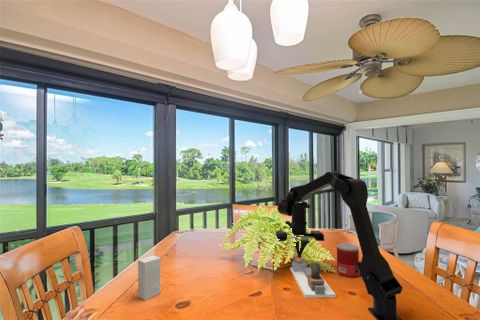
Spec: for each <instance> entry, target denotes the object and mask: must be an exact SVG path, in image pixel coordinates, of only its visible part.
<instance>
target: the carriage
mask: <svg viewBox="0 0 480 320" xmlns="http://www.w3.org/2000/svg"><path fill="white" fill-rule="evenodd" d="M310 265H311V266H310V267H311V275H307V279H308V285H309V286H310V288H311V289H312V290H314V285H321V286H324V280H325V279H324V278H323V276H322V275H321V274H320V272H321V271H320V269H321V268H320V263H317V262H311V264H310ZM320 275H321V276H322V277H321V276H320ZM322 278H323V279H324V280H323V279H322Z"/></svg>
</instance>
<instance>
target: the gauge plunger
mask: <svg viewBox="0 0 480 320" xmlns="http://www.w3.org/2000/svg"><path fill="white" fill-rule="evenodd" d="M295 261H296V262H297V263H302V261H303V257H302V256H301V257H300V258H298V256H295Z"/></svg>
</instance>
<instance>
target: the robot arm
mask: <svg viewBox="0 0 480 320" xmlns="http://www.w3.org/2000/svg"><path fill="white" fill-rule="evenodd" d="M330 186H331V188H333V189H334V190H336V191H337V192H339V194H340V196H341V199H342V201H343V202H344V204H345V205H347V207H348V208H349V210H350V213H351V218H352V221H353V224H354V228H355V233H356V236H357V239H358V243H359V247H360V250H361V254H362V255H361V256H362V257H361V260H359V262H357V266H358V268H359V277H360V278H361V279H362V281H363V283H364V285H365V289H366V292H367V295H369V296H371V297H372V307H367V310H368V311H369V312H370V314H371V315H372V316H373V317H374V318H375V319H376V320H403V319H402V318H401V317H400V316H399V315H398V314H397V295H400V294H401V293H402V291H403V286H402V284H401V283H400V282H399V281H398V279H397V278H396V277H395V275H394V273H393V270H392V268H391V266H390V264H389V261H387V259H386V258H385V257H384V256H383V255H382V253H381V250H380V248H379V244H378V241H377V238H376V234H375V230H374V228H373V224H372V221H371V217H370V214H369V211H368V206H367V204H368V198H369V193H368V192H369V191H368V184H367V183H366V182H365V181H364V180H363V179H360V178H354V177H351V176H349V175H345V174H343V173H340V172H338V171H327V172H325V173H324V174H322V175H321V176H319V177H317V178H315V179H313V180H310V181H309V182H307V183H305V184H302V185H297V186H292V187H291V188H289V190H288V193H287V196H286V197H285V198H281V201H280V202H279V203H278V205H277V211H278V213H279V214H280V215H284V216H288V217H291V221H290V220H289V221H287V220H286V221H285V222H284V224H285V223H286V224H288V225H289V226H290V228H292V232H291V233H293V234H294V236H296V237H291V238H295V240H296V241H297V240H298V238H297V237H302V238H301V239H302V240H301V248H300V251H299V240H298V241H297V242H294V243H296V246H294V248H295V247H296V249H295V252H296V254H297V256H298V258H300V257H302V255H303V253H304V250H305V248H306V246H307V245H308V244H311V243H310V242H311V241H310V240H309V239H314V240H315V241H316V242H324V241H325V234H324V233H323V232H322V231H320V230H310V232H307V225H308V223H307V209H309V208H311V205H309V204H308V202H307V200H309V199H310V198H312V196H313V195H314V194H315V193H317V192H319V191H321V190H324V189H326V188H328V187H330ZM276 231H277V232H276ZM276 231H275V232H276V236H277V238H278V239H280V240H279V241H278V242H286V241H287V240H288V238H287V233H288V232H286V231H285V232H283V231H284V230H276ZM298 235H304V236H298Z"/></svg>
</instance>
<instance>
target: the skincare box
mask: <svg viewBox="0 0 480 320" xmlns="http://www.w3.org/2000/svg"><path fill="white" fill-rule="evenodd" d="M161 259H162V258H161V257H159V256H157V255H151V256H148V257H144V258H140V259H138V260H137V296H138V298H140V299H141V300H143V301H147V300H149V299H151V298H154V297H156V296H158V295H160V294H161V291H162V290H161V287H162V284H161V277H162V276H161V272H162V271H161V270H162V269H161V268H162V267H161Z"/></svg>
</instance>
